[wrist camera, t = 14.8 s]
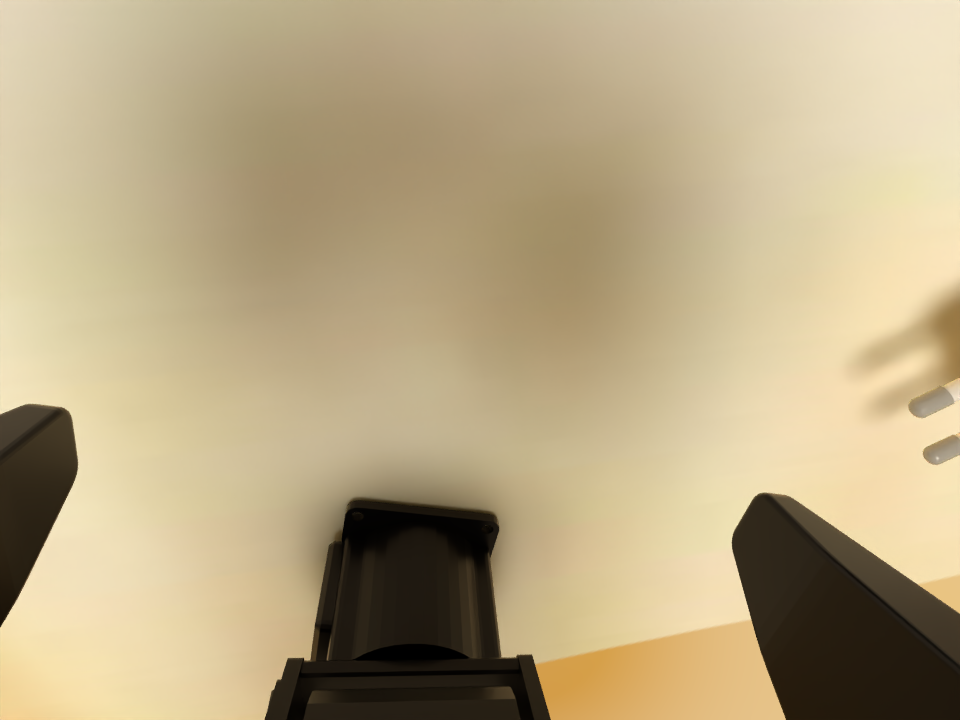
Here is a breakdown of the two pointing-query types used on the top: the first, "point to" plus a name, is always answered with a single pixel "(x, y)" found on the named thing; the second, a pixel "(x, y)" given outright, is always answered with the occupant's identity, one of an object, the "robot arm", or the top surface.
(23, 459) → the robot arm
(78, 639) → the top surface
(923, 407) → the power adapter
